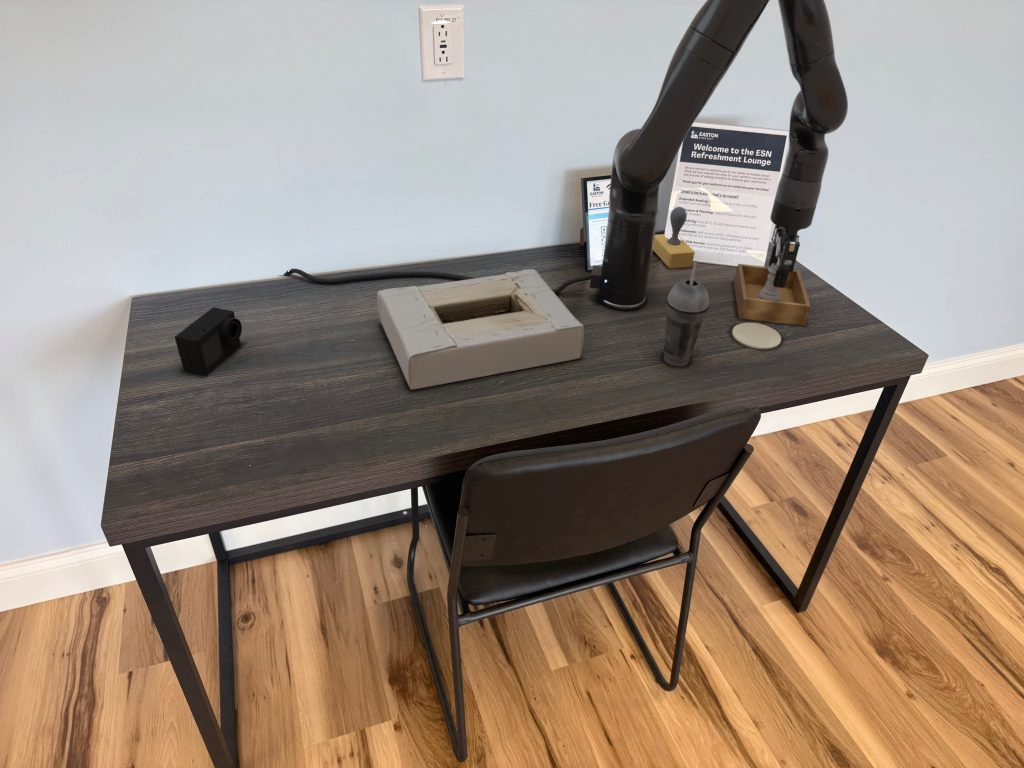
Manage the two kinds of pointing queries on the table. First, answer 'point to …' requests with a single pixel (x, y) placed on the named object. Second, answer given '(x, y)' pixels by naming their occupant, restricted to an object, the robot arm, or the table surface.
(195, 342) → the digital camera
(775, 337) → the coaster
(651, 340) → the table surface
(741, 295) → the wooden tray
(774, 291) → the rook chess piece
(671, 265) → the rubber stamp
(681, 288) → the beverage cup
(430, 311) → the box
